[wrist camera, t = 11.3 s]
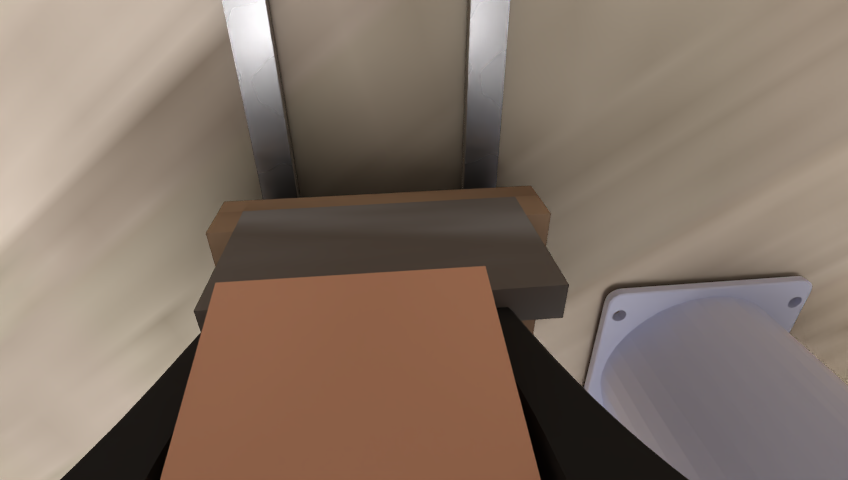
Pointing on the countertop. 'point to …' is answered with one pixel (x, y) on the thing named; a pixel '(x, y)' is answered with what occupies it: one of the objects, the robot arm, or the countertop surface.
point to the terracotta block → (353, 382)
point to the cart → (394, 241)
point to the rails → (268, 110)
